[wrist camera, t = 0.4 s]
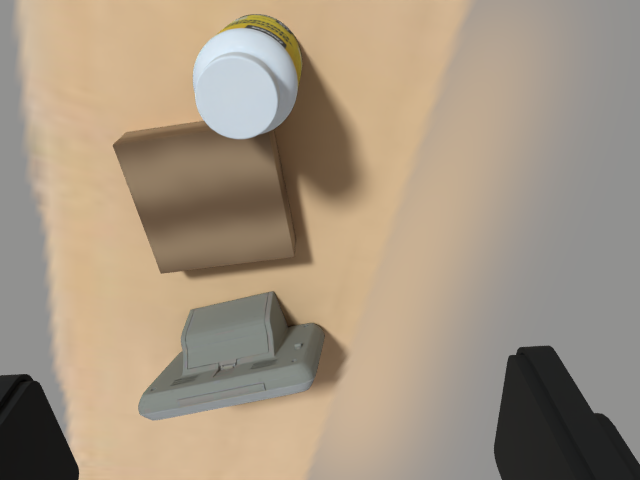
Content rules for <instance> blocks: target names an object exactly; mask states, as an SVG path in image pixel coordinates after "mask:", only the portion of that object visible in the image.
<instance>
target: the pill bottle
mask: <svg viewBox="0 0 640 480" xmlns="http://www.w3.org/2000/svg"><path fill="white" fill-rule="evenodd" d="M301 71H302V54H301V49H300V46H299V44H298V41H297V39H296V38H295V36H294V35H293V33H292V32H291V31H290V30H289V28H288V27H286V26H285V25H284V24H283V23H282V22H280V21H279V20H277V19H275V18H273V17H270V16H266V15H260V14H252V15H246V16H243V17H240V18H238V19H236V20H235V21H233V22H232V23H230V24H229V25H228V26H226V27H225V28H224V29H223V30H221V31H220V32H219V33H218V34H216V35H215V36H214V37H213V38H211V39H210V40H209V41H208V42H207V43H206V44H205V46H204V47H203V48H202V50H201V51H200V53H199V55H198V57H197V59H196V62H195V65H194V70H193V87H194V91H195V100H196V105H197V108H198V111H199V113H200V115H201V117H202V118H203V120H204V121H205V122H206V124H207V125H208V126H209V127H210V128H211V129H213V130H214V131H215V132H217V133H218V134H220V135H222V136H225V137H228V138H232V139H248V138H252V137H255V136H257V135H259V134H263V133H266V132H269V131H271V130H273V129H275V128H276V127H278V126H279V125H280V124H281V123H282V122H283V121H284V120H285V119H286V118H287V117H288V115H289V114H290V112H291V110H292V108H293V106H294V104H295V101H296V97H297V92H298V87H299V82H300V76H301Z"/></svg>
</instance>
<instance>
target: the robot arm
mask: <svg viewBox="0 0 640 480" xmlns="http://www.w3.org/2000/svg"><path fill="white" fill-rule="evenodd" d="M494 454H495V460H496V464H497V467H498V470H499V473H500V475H501V478H502V480H640V464H639V463H638V461H637V460H636V458H635V457H634V455H633V454H632V452H631V451H630V449H629V447H628V446H627V444H626V443H625V441H624V440H623V439H622V437H621V435H620V434H619V432H618V431H617V429H616V427H615V426H614V425H613V423H612V422H611V421H610V420H609V418H607V417H606V416H605V415H603V414H599V413H593V411H592V410H591V408H590V406H589V405H588V403H587V402H586V400H585V398H584V397H583V395H582V394H581V392H580V390H579V389H578V387H577V385H576V384H575V382H574V381H573V379H572V377H571V376H570V374H569V373H568V371H567V369H566V368H565V366H564V365H563V363H562V361H561V360H560V358H559V356H558V355H557V353H556V352H555V351H554V349H553V348H552V347H551V346H533V347H520V348H519V349H518V350H517V353H516V355H510V356H509V358H508V362H507V368H506V374H505V381H504V387H503V394H502V400H501V406H500V412H499V418H498V425H497V431H496V438H495V444H494ZM78 479H79V469H78V465H77V463H76V461H75V459H74V457H73V454H72V452H71V450H70V448H69V446H68V443H67V441H66V439H65V437H64V435H63V433H62V431H61V428H60V426H59V424H58V422H57V420H56V417H55V415H54V413H53V411H52V409H51V406H50V404H49V402H48V400H47V398H46V396H45V393H44V391H43V389H42V387H41V385H40V383H38V382H37V381H33V379H32V378H31V376H29V375H27V374H19V375H1V376H0V480H78Z"/></svg>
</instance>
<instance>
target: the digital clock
mask: <svg viewBox="0 0 640 480" xmlns="http://www.w3.org/2000/svg"><path fill="white" fill-rule="evenodd" d="M324 337H325V335H324V332H323V330H322V329H321V328H320V327H319V326H318V325H316V324H314V323H307V324H302V325H297V326H292V327H288V325H287V323H286V320H285V318H284V315H283V313H282V310H281V308H280V305H279V303H278V300H277V298H276V295H275V293H274V292H273V291H272V292H268V293H263V294H259V295H254V296H250V297H246V298H241V299H237V300H232V301H228V302H223V303H219V304H214V305H210V306H206V307H201V308H197V309H192V310H190V313H189V315H188V318H187V321H186V324H185V326H184V329H183V332H182V336H181V345H182V349H183V351H182V352H180V353H179V354H178V355H177V356H176V357H175V359H174V360H173V361H172V362H171V363H170V364H169V365H168V366H167V367H166V368H165V370H164V371H163V372H162V373H161V374H160V375H159V376H158V377H157V378H156V380H155V381H154V382H153V383H152V384H151V385H150V386H149V387H148V388H147V390H146V391H145V392H144V393H143V395H142V397H141V399H140V402H139V406H138V409H139V414H140V415H142V416H144V417H146V418H148V419H150V420H160V419H166V418H171V417H177V416H182V415H187V414H192V413H197V412H202V411H208V410H213V409H218V408H223V407H228V406H233V405H238V404H243V403H249V402H254V401H259V400H264V399H269V398H274V397H279V396H284V395H289V394H294V393H299V392H303V391H306V390H308V389H309V388H310V386H311V385H312V383H313V380H314V378H315V376H316V372H317V368H318V364H319V360H320V355H321V351H322V346H323V342H324Z"/></svg>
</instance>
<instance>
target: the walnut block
mask: <svg viewBox="0 0 640 480" xmlns="http://www.w3.org/2000/svg"><path fill="white" fill-rule="evenodd" d="M113 147H114V150H115V153H116V155H117V158H118V161H119V163H120V166H121V169H122V171H123V174H124V177H125V179H126V182H127V185H128V187H129V190H130V192H131V195H132V198H133V200H134V203H135V206H136V208H137V211H138V214H139V216H140V219H141V222H142V224H143V227H144V230H145V232H146V235H147V238H148V240H149V243H150V246H151V248H152V251H153V254H154V256H155V259H156V262H157V264H158V267H159V270H160V272H161V274H162V273H170V272H178V271H186V270H194V269H202V268H210V267H218V266H226V265H234V264H242V263H250V262H258V261H266V260H274V259H282V258H291V257H294V256H295V245H296V237H295V232H294V227H293V222H292V217H291V212H290V207H289V202H288V197H287V192H286V187H285V182H284V177H283V172H282V167H281V162H280V157H279V152H278V147H277V142H276V137H275V132H274V129H273V130H271V131H269V132H266V133H263V134H259V135H257V136H255V137H252V138H248V139H232V138H228V137H225V136H222V135H220V134H218V133H217V132H215V131H214V130H213V129H211V128H210V127H209V126H208V125H207V124H206V122H205V121H200V122H194V123H187V124H180V125H173V126H167V127H160V128H153V129H146V130H140V131H133V132H126V133H125V134H124V135H123V136H122V137H121V138H120V139H119V140H118V141H117V142H115V143H114V144H113Z"/></svg>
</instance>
